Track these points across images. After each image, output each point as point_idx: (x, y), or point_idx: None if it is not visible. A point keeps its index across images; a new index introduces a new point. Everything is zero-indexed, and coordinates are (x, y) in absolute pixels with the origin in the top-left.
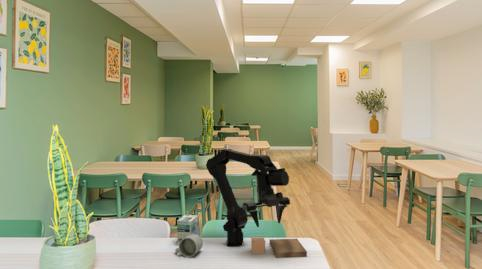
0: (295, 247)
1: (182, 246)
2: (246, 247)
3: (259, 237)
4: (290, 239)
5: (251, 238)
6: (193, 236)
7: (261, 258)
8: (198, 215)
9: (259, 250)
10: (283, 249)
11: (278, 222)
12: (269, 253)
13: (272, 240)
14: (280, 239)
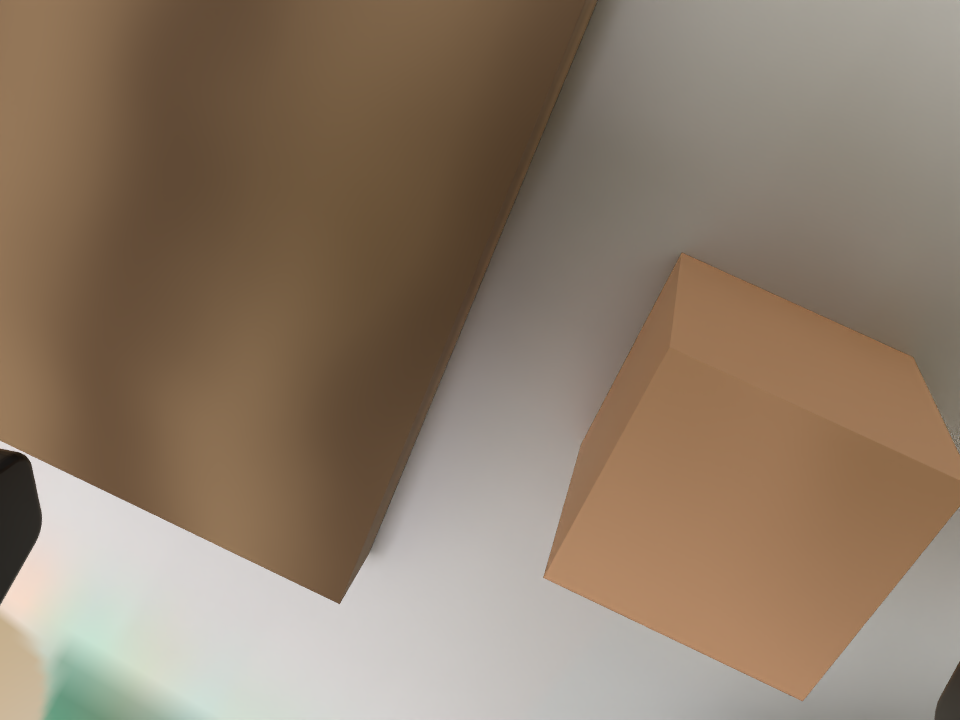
0: None
1: None
2: None
3: (634, 607)
4: (9, 412)
5: (815, 673)
6: None
7: (951, 26)
8: None
9: (792, 320)
10: (368, 4)
11: (18, 510)
12: (617, 194)
13: (316, 540)
14: (166, 504)
